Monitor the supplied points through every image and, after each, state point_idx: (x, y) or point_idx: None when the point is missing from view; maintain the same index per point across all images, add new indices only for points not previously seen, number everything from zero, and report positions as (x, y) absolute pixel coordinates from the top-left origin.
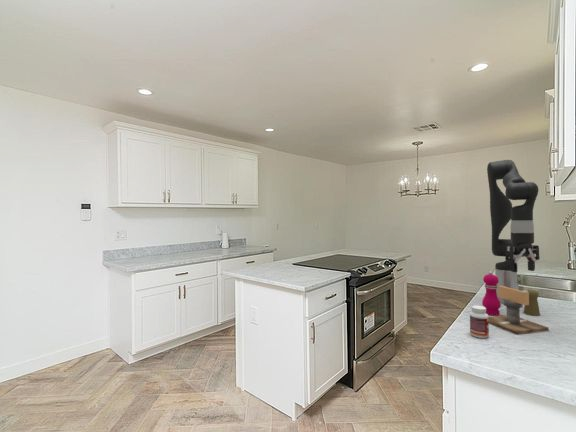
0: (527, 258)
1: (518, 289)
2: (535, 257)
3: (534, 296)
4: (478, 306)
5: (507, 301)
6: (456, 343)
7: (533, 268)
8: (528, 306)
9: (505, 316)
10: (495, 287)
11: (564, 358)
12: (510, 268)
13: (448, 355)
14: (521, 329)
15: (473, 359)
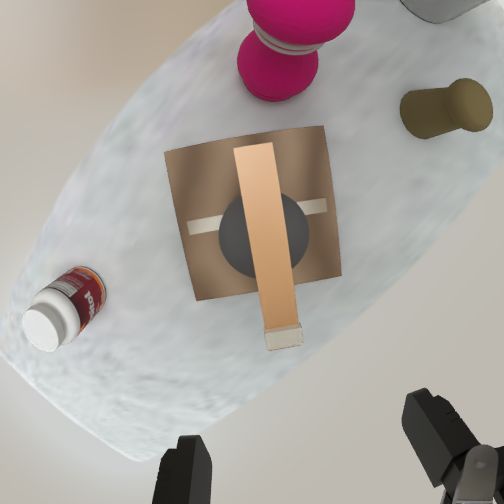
0: (455, 492)
1: (479, 4)
2: (497, 490)
3: (463, 128)
4: (40, 323)
5: (224, 243)
6: None
7: (413, 440)
8: (422, 114)
9: (280, 144)
10: (300, 50)
11: (211, 414)
12: (161, 463)
13: (10, 361)
14: (230, 286)
15: (42, 383)
